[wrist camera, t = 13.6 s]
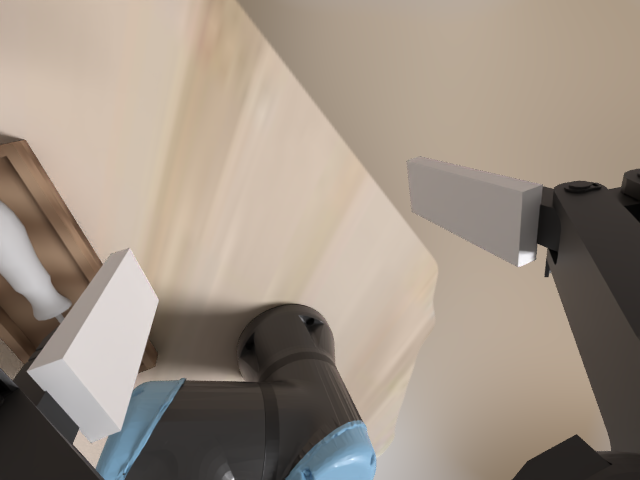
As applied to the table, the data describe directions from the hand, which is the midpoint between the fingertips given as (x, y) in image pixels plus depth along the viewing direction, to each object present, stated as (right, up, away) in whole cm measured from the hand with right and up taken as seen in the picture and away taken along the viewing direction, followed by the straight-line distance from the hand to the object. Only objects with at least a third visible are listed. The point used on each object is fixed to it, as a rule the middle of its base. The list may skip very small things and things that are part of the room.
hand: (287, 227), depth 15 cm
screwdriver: (-30, -6, +22) cm, 37 cm away
